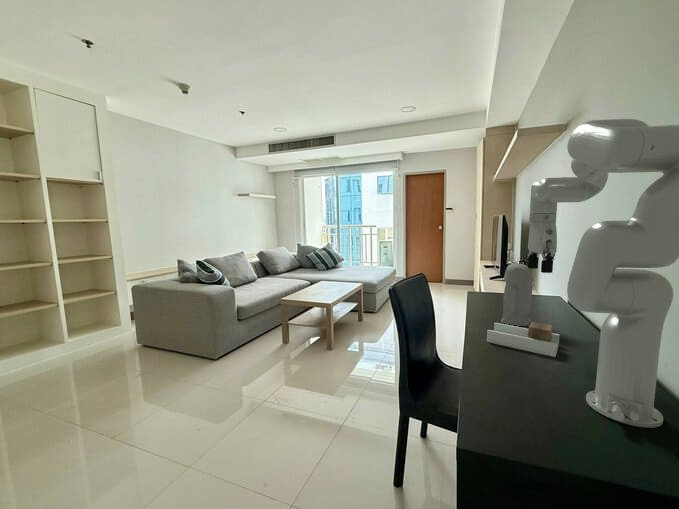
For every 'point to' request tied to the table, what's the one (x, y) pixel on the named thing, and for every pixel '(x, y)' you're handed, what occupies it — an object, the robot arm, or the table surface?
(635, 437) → the table surface
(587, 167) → the robot arm
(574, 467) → the table surface
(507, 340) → the chute
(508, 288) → the unidentifiable
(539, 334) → the walnut block
